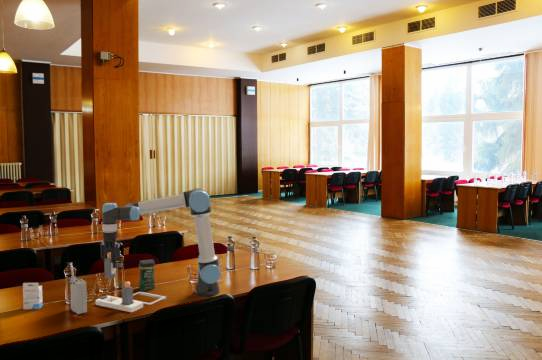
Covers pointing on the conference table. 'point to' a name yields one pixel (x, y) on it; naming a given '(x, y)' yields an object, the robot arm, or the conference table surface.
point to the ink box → (32, 296)
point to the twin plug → (127, 294)
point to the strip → (118, 303)
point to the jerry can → (78, 294)
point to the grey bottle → (108, 267)
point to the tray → (150, 296)
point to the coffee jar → (146, 275)
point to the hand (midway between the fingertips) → (110, 272)
